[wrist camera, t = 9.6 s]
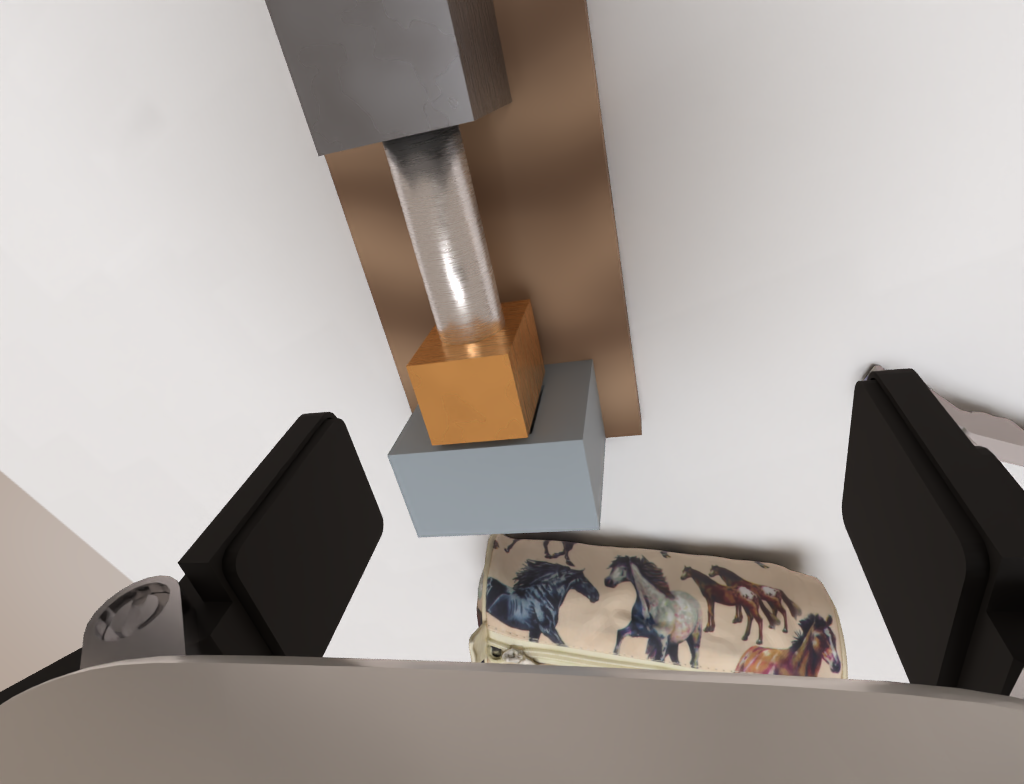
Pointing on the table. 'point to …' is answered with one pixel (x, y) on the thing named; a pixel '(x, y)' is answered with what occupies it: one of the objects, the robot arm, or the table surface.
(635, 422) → the board
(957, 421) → the caliper
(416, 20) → the sleeve
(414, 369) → the tube
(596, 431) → the socket
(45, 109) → the table surface
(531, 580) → the pencil case
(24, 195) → the table surface
